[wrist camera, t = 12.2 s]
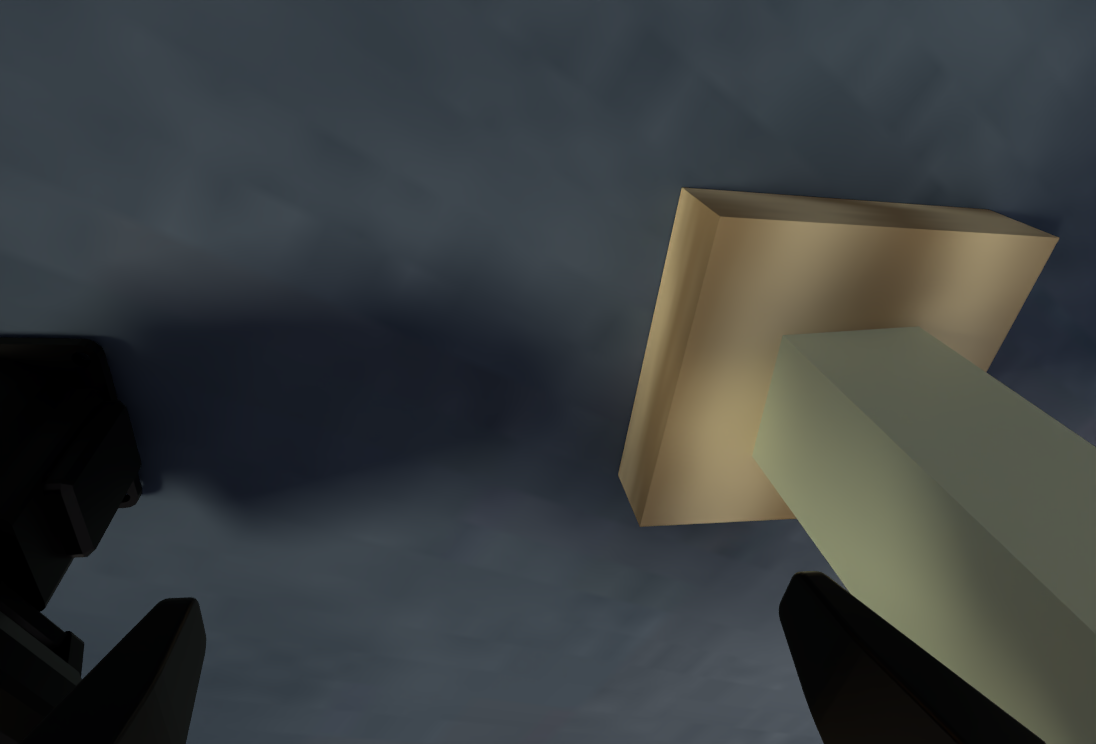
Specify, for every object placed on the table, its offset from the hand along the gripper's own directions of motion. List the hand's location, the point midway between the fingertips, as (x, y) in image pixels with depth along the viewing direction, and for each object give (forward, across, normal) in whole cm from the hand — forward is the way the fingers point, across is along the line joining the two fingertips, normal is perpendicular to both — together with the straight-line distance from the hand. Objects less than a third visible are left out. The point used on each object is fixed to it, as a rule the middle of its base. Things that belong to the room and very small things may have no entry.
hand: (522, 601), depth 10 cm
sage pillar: (+10, -13, +3) cm, 17 cm away
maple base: (+13, -13, +3) cm, 19 cm away
